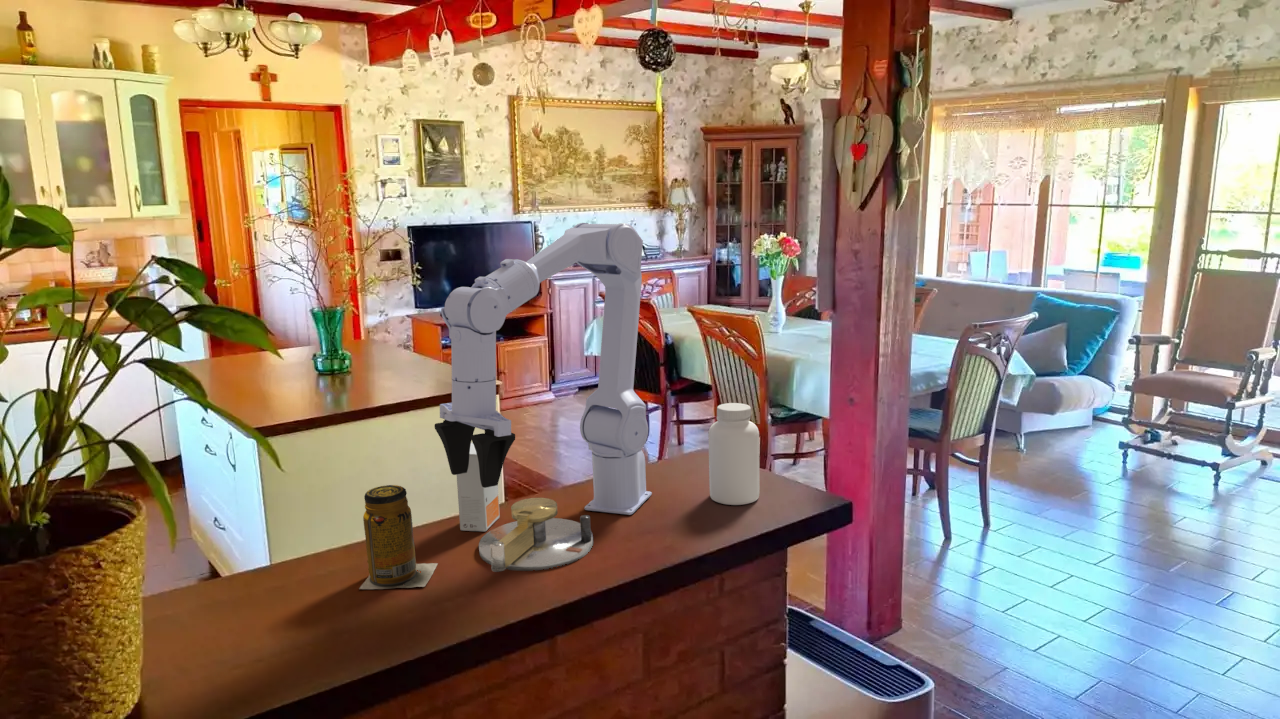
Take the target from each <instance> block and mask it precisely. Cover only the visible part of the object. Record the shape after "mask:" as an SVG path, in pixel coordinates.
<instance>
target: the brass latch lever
mask: <svg viewBox="0 0 1280 719" xmlns="http://www.w3.org/2000/svg"><path fill="white" fill-rule="evenodd" d="M510 510H511V518H512V520H514V521H517V527H516V528H515V529H514V530H512V531H511V532H510V533H508V534H507V535H506V536H505V537H503V538H502V539H501V540H499V541H498V542H493V543H491V544H490V554H491V565H490V566H491V568H490V569H491V571H492V572H494V573H500V572H504V571H505V570H507V569H506V568H507V567H508V566H509V565H510V564H511V563H512V562H514V561H515V560H516V559H517V558H518V557H519V556H521V555H522V554H523V553H524V552H525V551H527V550H528V549H529V548H530V547H531V546H532V545H534V536H533V523H536V522H542V521H546V520H549V519H552V518H556V516H557V515H558V503H557V501H555V500H554V499H551V498H548V497H531V498H525V499H524V498H523V499H520V500H518V501H515V502H514V503H513V504H512V505H511V507H510Z"/></svg>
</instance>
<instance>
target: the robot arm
mask: <svg viewBox="0 0 1280 719" xmlns="http://www.w3.org/2000/svg"><path fill="white" fill-rule="evenodd" d="M643 244H644V240H643V239H642V237H641V236H640V234H639V233H638V232H637V231H636V229H635V228H634V227H633V226H632V225H631V224H629V223H627V222H623V223H611V224H610V223H587V222H580V223H577V224H575V225H574V226H573V227H569V228H567V229H566V230H564V234H563V235H561V236H560V237H559V238H557V239H556V240H554V241H553V242H552V243H550V244H549V245H548V246H546V247H545V248H543V249H542V250H540V251H539V252H537V253H536V254H535V255H533V256H531V258H530V259H528V260H526V261H525V260H521V259H517V258H515V259H511V258H505V259H504V260H502V261H500V265H499V266H500V267H499V268H497V269H496V270H494V271H492V272H490V273H489V274H487V275H486V276H478V277H477V278H475V279H474V283H473V284H472V286H471V287H469V286H460V287H456V288H454V289H453V290H452V291H451V292H450V293H449V295H448V296H447V297H446V300H445V302H444V307H442V308H440V312H441V317H442V320H443V322H444V324H446V326H447V328H448V333H449V334H448V335H449V337H448V338H449V339H450V341H451V343H450V344H451V345H450V346H451V348H450V349H451V402H447V403H440V404H439V418H440V419H444V420H443V421H442V422H437V423H435V424H434V430H435V432H437V434H438V436H439V438H440V440H441V443H442V445H443V448H444V450H445V454H446V458H447V462H448V465H449V470H450V472H451V474H452V475H453V476H457V474H462V473H467V470H468V466H469V454H470V445H471V443H473V444H474V447H475V450H476V453H477V457H478V462H479V472H480V481H481V485H482V487H484V488H487V487H492V486H497V485H498V486H499V482H500V478H501V474H502V470H503V466H504V463H505V460H506V457H507V455H508V452H509V451H510V449H511V447H512V445H513V444H514V442H515V441H516V434H515V433H513V432H512V420H511V419H509V418H506V417H505V416H503V415H502V413H500V412H499V411H497V354H496V353H497V331H499V330H500V329H501V328H502V327H503V325H504V323H505V320H506V317H507V315H509V314H510V313H511V312H514V311H515V310H516V309H518V308H520V307H521V306H522V305H523V304H525V303H527V302H528V301H530V300H532V299H533V298H534V297H536V296H537V295H538V293H539V291H540V284H541V283H542V282H544V281H545V280H546V281H547V279H549V278H551V277H552V276H554V275H556V274H558V273H560V272H562V271H564V270H565V269H567V268H568V267H571V266H572V265H574V264H577V265H579V266H580V267H581V268H584V269H585V270H587V271H588V272H590V273H591V274H593V275H595V276H596V278H598V280H599V281H600V282H601V284H602V285H603V286H604V287H605V289H604V290H605V291H604V292H605V294H604V304H603V306H604V307H603V315H602V316H603V317H602V330H601V331H602V333H601V346H600V357H599V360H600V362H599V373H598V386H597V389H595V390H594V391H593V392H592V393H591V394H590V395H589V396H588V397H587V398H586V400H585V401H586V402H585V408H584V411H583V414H582V415H581V419H580V423H579V432H580V435H581V437H582V439H583V440H584V442H586V443H588V450H589V451H591V463H592V481H593V482H592V484H593V486H592V487H593V499H592V500H591V501H589V503H587V504H586V505H584V510H585V511H589V512H590V511H592V512H600V513H609V514H620V515H628V516H631V515H633V514H634V513H635V512H636V511H637V510H638V509H639V508H640V507H641V506H642V505H643V504H644V503H645V502H646V501H647V500H648V499H649V498H650V497H651V496H652V494H653V492H652V491H650V490H649V491H648V490H647V479H646V478H647V477H646V458H645V457H646V456H645V454H644V452H643V450H642V448H643V447H644V445H645V444H646V442H647V440H648V435H649V425H648V420H647V414H646V413H647V412H646V410H647V405H646V403H645V402H644V401H643V400H642V398H640V397H639V395H638V394H637V393H636V392H635V390H634V385H635V371H636V370H635V369H636V357H637V346H638V344H637V343H638V333H639V321H640V320H639V319H640V307H641V305H640V304H641V294H642V293H641V292H642V282H643V281H642V280H643V279H642V278H643V274H642V257H643ZM475 429H479V430H483V431H484V433H476V434H474V433H475Z"/></svg>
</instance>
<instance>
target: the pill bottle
mask: <svg viewBox="0 0 1280 719" xmlns="http://www.w3.org/2000/svg"><path fill="white" fill-rule="evenodd" d="M751 416H752V407H751V405H748V404H747V403H740V402H727V403H722V404H719V405H717V407H716V420H717V421H715V422H713V423H711V425H710V427H709V428H708V473H709V474H708V475H709V477H708V478H709V485H708V486H709V496H710V498H711V500H712V501H714V502H716V503H718V504H723V505H728V506H730V505H731V506H741V505H748V504H751V503H754V502H756V501H757V500H758V499H759V497H760V431H759V428H758V426H757V425H756V424H755V423H754V422H752V421H750V420H751Z"/></svg>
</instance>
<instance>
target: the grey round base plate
mask: <svg viewBox="0 0 1280 719" xmlns="http://www.w3.org/2000/svg"><path fill="white" fill-rule="evenodd" d="M516 527H517V521H516V520H514V521H511V522H508V523H506V524H502V525H498V526H497V527H494V528H493V529H491V530H489V531H488V532H485V534H484V535H483V536H482V537H481V538H480V540H479V542H478V550H479V551H478V552H479V557H480V558H481V560H482V561H484V562H485V563H486V564H488V565H490V566H491V554H490V544H491V543H493V542H498V541H499V540H501V539H502V538H503V537H505V536H506V535H507V534H508V533H510V532H511V531H512V530H514V529H515V528H516ZM593 535H594V533H593V532H592V529H591V516H590V515H589V514H584V515H580V517H579V521H575V520H572V519H567V518H559V517H554V518H552V519H549V520H546V521H542V522H536V523H533V536H534V545H532V546H531V547H530V548H529V549H528V550H527V551H525V552H524V553H523V554H522V555H521V556H519V557H518V558H517V559H516V560H515V561H514V562H512V563H511V564H510V565H509V566H508V567H507V568H506V569H505V570H507V569H508V570H509V571H521V572H526V571H527V572H530V571H531V572H532V571H533V570H535V571H541V570H542V571H543V569H544V570H549V568H551V569H554V568H553V567H556V568H558V567H557V566H560V567H563V566H566V565H565V564H567V565H570V564H572V563H574V562H577V561H579V560H580V559H583V557H585V556H586V555H588V554H589V553H590V551H591V550H592V549H593V547H592V546H594V536H593ZM591 548H592V549H591ZM588 552H589V553H588ZM578 559H579V560H578ZM562 565H563V566H562ZM508 570H507V571H508ZM533 572H534V571H533Z"/></svg>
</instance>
